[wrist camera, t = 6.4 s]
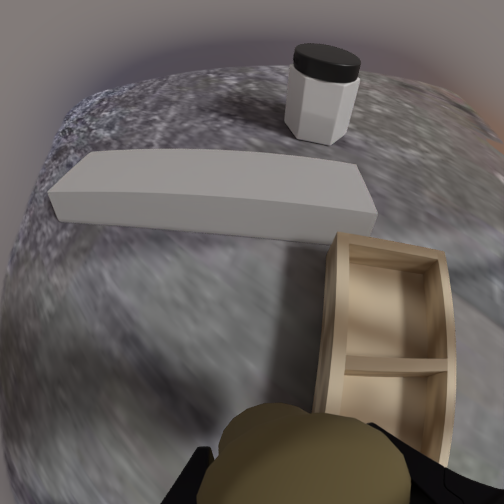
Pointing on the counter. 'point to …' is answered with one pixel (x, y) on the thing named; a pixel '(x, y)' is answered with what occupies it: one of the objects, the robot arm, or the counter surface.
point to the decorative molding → (217, 194)
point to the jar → (321, 92)
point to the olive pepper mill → (304, 461)
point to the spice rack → (389, 341)
